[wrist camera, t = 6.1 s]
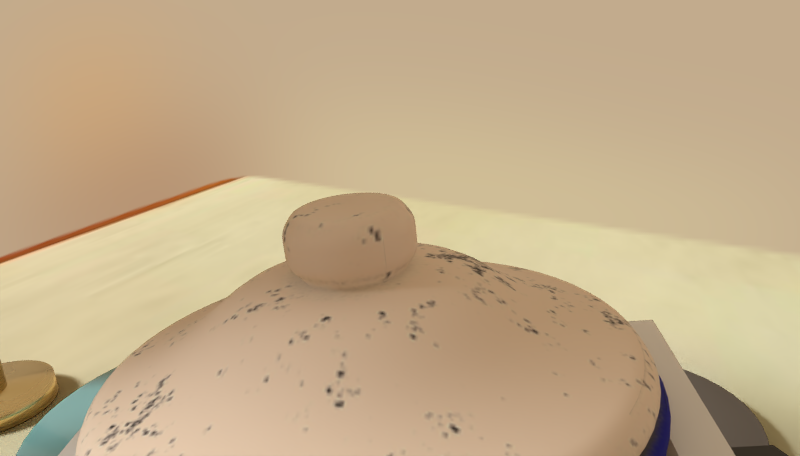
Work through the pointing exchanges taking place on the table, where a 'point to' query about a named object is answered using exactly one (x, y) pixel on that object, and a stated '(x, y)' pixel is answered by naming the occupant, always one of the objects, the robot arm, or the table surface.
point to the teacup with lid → (385, 358)
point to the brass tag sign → (25, 390)
